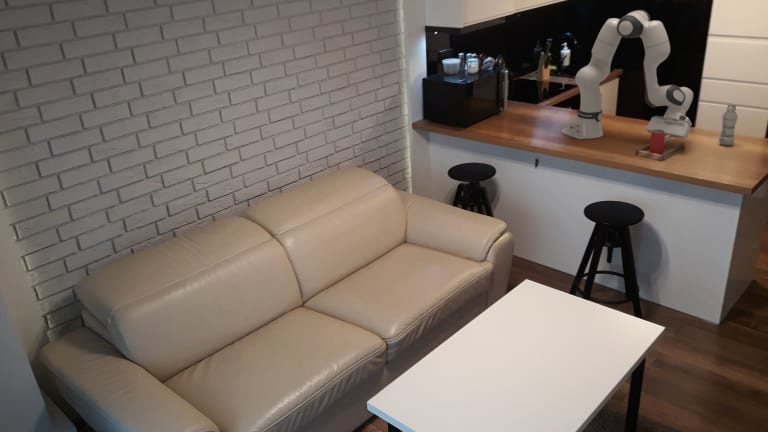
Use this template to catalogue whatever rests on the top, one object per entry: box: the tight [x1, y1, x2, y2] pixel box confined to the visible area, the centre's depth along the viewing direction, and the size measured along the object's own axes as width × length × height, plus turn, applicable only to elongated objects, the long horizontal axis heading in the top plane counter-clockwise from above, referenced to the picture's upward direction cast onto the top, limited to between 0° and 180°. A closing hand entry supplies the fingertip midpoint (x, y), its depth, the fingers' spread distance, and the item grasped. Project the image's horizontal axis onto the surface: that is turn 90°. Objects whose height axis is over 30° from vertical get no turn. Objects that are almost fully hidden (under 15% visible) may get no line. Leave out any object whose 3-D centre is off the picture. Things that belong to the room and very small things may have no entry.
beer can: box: [648, 130, 666, 155], centre depth 301 cm, size 7×7×12 cm
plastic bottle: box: [718, 104, 738, 146], centre depth 301 cm, size 6×7×20 cm
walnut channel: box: [635, 142, 686, 162], centre depth 305 cm, size 14×22×2 cm, turn 129°
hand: (661, 142), depth 303 cm, fingers closed, pressing on beer can
